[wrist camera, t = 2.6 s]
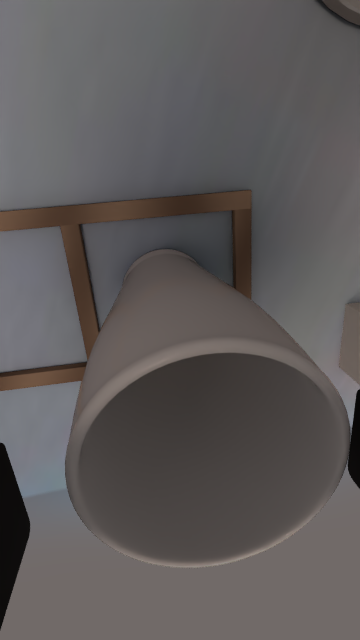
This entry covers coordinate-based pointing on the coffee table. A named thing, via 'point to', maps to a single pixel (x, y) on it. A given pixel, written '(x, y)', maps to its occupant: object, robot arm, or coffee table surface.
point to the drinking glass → (199, 423)
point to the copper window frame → (78, 266)
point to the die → (351, 342)
